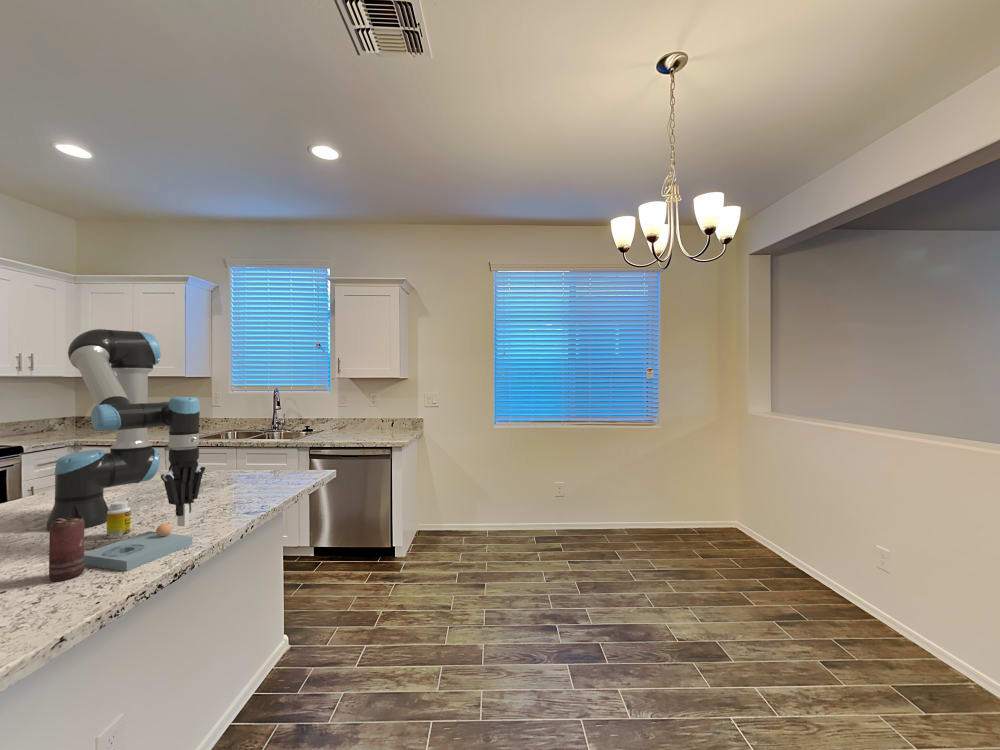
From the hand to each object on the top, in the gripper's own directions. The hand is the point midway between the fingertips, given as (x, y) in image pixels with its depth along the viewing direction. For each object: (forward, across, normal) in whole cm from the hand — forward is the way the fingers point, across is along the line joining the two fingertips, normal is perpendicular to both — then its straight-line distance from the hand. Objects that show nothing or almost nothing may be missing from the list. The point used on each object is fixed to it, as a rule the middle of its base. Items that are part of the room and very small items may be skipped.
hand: (183, 525), depth 135 cm
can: (+4, -28, +3) cm, 28 cm away
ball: (-1, -6, 0) cm, 6 cm away
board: (+4, -13, 0) cm, 14 cm away
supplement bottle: (+4, -4, +20) cm, 21 cm away
